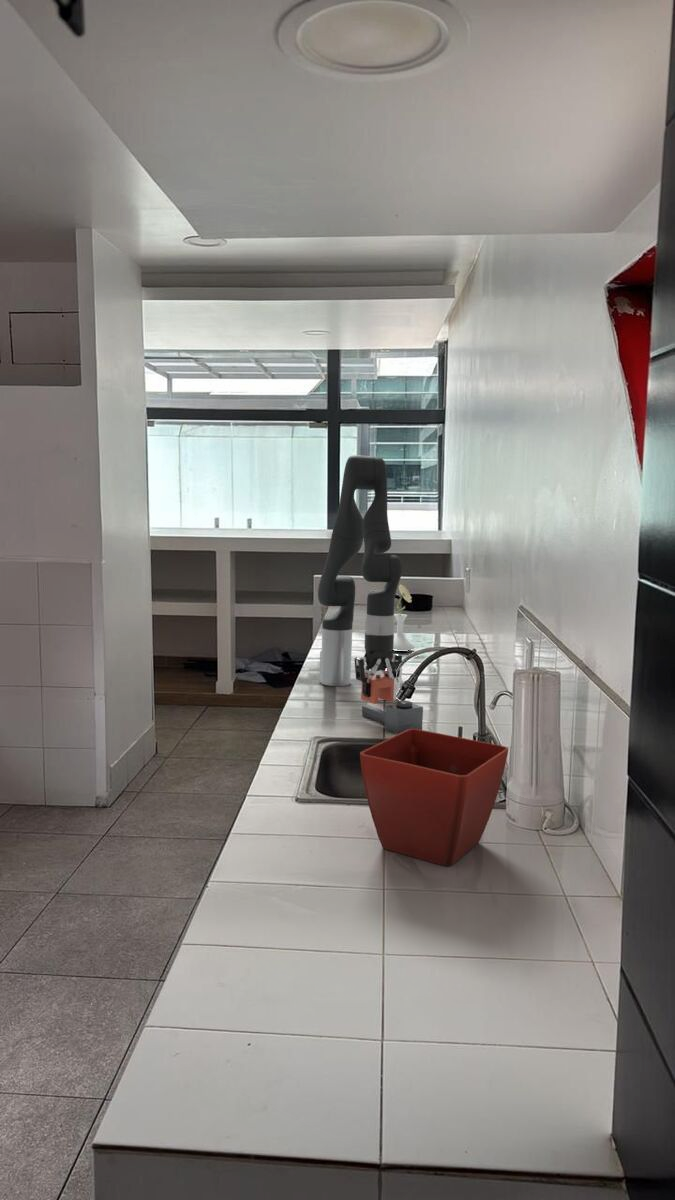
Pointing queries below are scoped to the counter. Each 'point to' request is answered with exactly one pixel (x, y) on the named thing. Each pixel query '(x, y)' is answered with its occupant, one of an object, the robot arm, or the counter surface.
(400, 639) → the flower in vase
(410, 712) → the coupler
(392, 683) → the notched red block
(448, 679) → the counter surface
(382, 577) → the robot arm
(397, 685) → the jar
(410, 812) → the plant pot
